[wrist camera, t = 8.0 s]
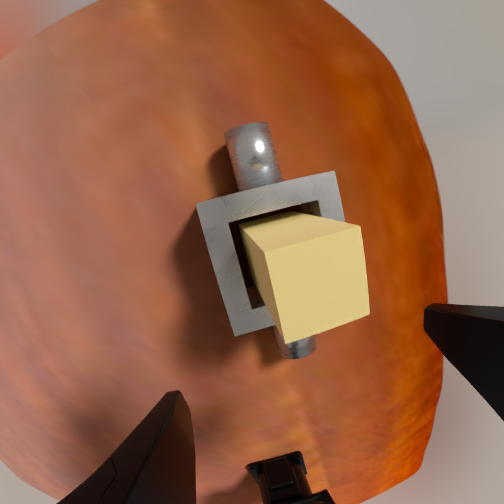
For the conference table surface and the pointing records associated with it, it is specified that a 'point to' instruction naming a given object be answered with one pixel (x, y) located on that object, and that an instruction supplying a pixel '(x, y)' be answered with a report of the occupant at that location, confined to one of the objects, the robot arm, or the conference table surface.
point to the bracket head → (254, 203)
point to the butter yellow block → (307, 271)
